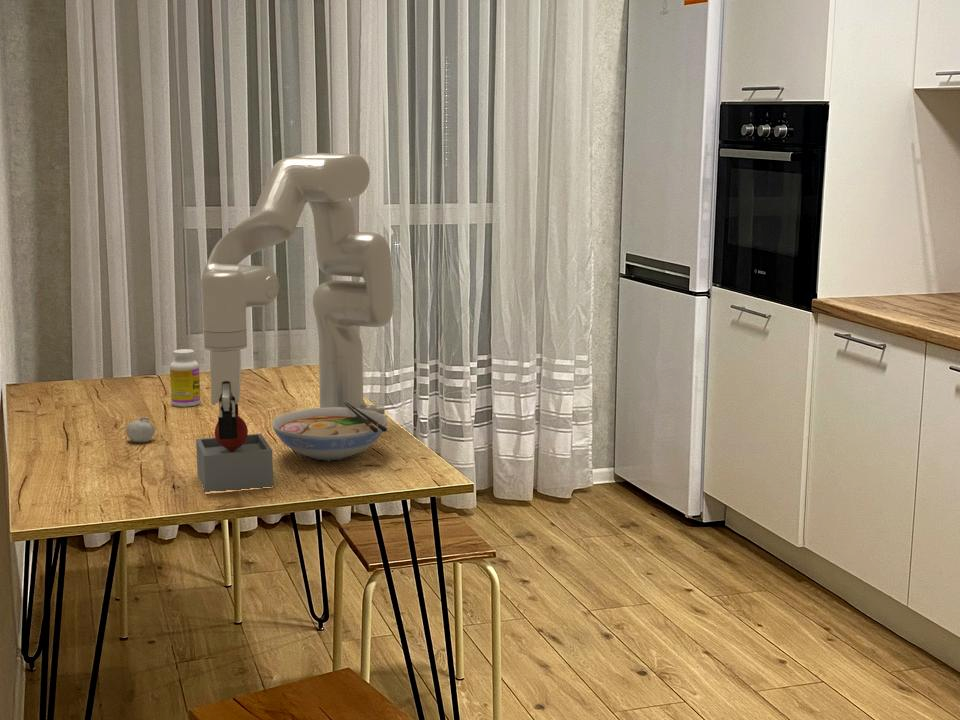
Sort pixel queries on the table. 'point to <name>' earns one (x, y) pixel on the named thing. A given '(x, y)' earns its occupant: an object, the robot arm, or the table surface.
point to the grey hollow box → (234, 464)
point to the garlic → (140, 430)
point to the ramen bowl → (330, 431)
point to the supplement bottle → (184, 379)
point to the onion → (236, 443)
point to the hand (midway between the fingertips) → (229, 431)
